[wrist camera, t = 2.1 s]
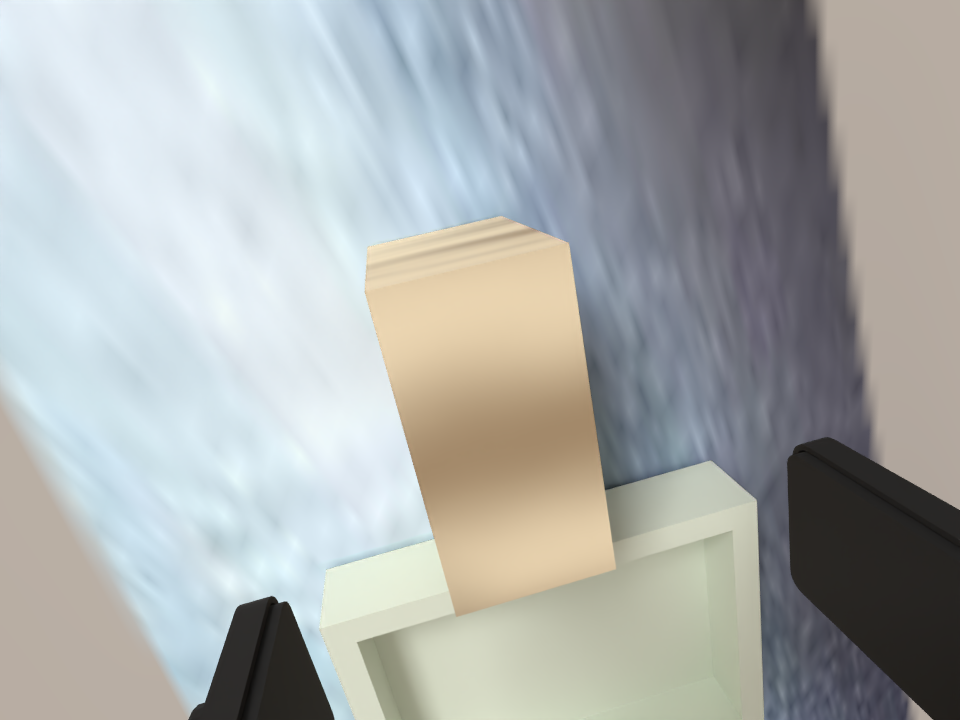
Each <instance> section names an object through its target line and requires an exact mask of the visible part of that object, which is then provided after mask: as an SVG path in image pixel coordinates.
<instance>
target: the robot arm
mask: <svg viewBox="0 0 960 720" xmlns="http://www.w3.org/2000/svg"><path fill="white" fill-rule="evenodd" d="M787 471H788V504H789V536H790V569H791V575H792V578H793V580H794V582H795V584H796V586H797V587H798V589H799V590H800V591H801V592H802V593H803V594H804V595H805V596H806V597H807V598H808V599H809V600H810V601H811V602H812V603H813V604H814V605H815V606H816V607H817V608H818V609H819V610H820V611H821V612H822V613H823V614H824V615H825V616H827V617H828V618H829V619H830V620H831V621H832V622H833V623H834V624H835V625H836V626H837V627H838V628H839V629H840V630H841V631H842V632H843V633H844V634H845V635H846V636H847V637H848V638H849V639H850V640H851V641H852V642H853V643H854V644H855V645H857V646H858V647H859V648H860V649H861V650H862V651H863V652H864V653H865V654H866V655H867V656H868V657H869V658H870V659H871V660H872V661H873V662H874V663H875V664H876V665H877V666H878V667H879V668H880V669H881V670H882V671H883V672H884V673H885V674H886V675H888V676H889V677H890V678H891V679H892V680H893V681H894V682H895V683H896V684H897V685H898V686H899V687H900V688H901V689H902V690H903V691H904V692H905V693H906V694H907V695H908V696H909V697H910V698H911V699H912V700H913V701H914V702H915V703H916V704H917V705H919V706H920V707H921V708H922V709H923V710H924V711H925V712H926V713H927V714H928V715H929V716H930V717H931V718H932V719H933V720H960V510H959V509H957V508H955V507H953V506H952V505H949V504H948V503H946V502H944V501H943V500H941V499H939V498H937V497H936V496H934V495H932V494H930V493H928V492H927V491H925V490H923V489H921V488H920V487H918V486H916V485H914V484H913V483H911V482H909V481H907V480H905V479H904V478H902V477H900V476H898V475H896V474H895V473H893V472H891V471H889V470H888V469H886V468H884V467H882V466H881V465H879V464H877V463H875V462H873V461H872V460H870V459H868V458H866V457H865V456H863V455H861V454H859V453H858V452H856V451H854V450H852V449H850V448H849V447H847V446H845V445H843V444H842V443H840V442H838V441H836V440H834V439H832V438H829V437H826V438H821V439H818V440H814V441H811V442H807V443H804V444H800V445H798V446H796V447H795V449H794V451H793V455H791V456H790V457H789V458H788V462H787ZM188 720H334V715H333V712H332V710H331V707H330V705H329V702H328V700H327V697H326V695H325V692H324V690H323V687H322V685H321V682H320V680H319V677H318V675H317V672H316V670H315V667H314V664H313V662H312V659H311V657H310V654H309V652H308V649H307V647H306V644H305V642H304V639H303V637H302V634H301V632H300V629H299V627H298V624H297V622H296V619H295V617H294V614H293V612H292V609H291V607H290V605H289V603H288V602H281V603H278V601H277V599H276V598H275V597H273V596H270V597H267V598H263V599H260V600H256V601H253V602H249V603H246V604H242V605H240V606H238V607H237V609H236V611H235V613H234V616H233V619H232V622H231V625H230V628H229V631H228V634H227V637H226V641H225V644H224V647H223V650H222V653H221V656H220V659H219V662H218V665H217V668H216V671H215V674H214V677H213V680H212V683H211V686H210V689H209V692H208V695H207V698H206V701H205V703H202V704H199V705H198V706H197V707H196V708H195V709H194V710H193V711H192V713H191V715H190V717H189V719H188Z"/></svg>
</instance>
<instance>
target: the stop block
mask: <svg viewBox="0 0 960 720" xmlns="http://www.w3.org/2000/svg"><path fill="white" fill-rule="evenodd" d="M365 295H366V298H367V302H368V305H369V309H370V312H371V316H372V319H373V323H374V326H375V330H376V334H377V337H378V341H379V344H380V348H381V351H382V355H383V358H384V362H385V366H386V369H387V373H388V376H389V380H390V383H391V387H392V390H393V394H394V398H395V401H396V405H397V408H398V412H399V415H400V419H401V422H402V426H403V430H404V433H405V437H406V440H407V444H408V447H409V451H410V454H411V458H412V462H413V465H414V469H415V472H416V476H417V479H418V483H419V486H420V490H421V493H422V497H423V501H424V504H425V508H426V511H427V515H428V518H429V522H430V525H431V529H432V533H433V536H434V540H435V543H436V547H437V550H438V554H439V557H440V561H441V565H442V568H443V572H444V575H445V579H446V582H447V586H448V589H449V593H450V597H451V600H452V604H453V607H454V611H455V614H456V617H458V616H462V615H465V614H468V613H472V612H475V611H478V610H482V609H485V608H488V607H492V606H495V605H498V604H502V603H505V602H508V601H512V600H515V599H518V598H522V597H525V596H528V595H532V594H535V593H539V592H542V591H545V590H549V589H552V588H555V587H559V586H562V585H565V584H569V583H572V582H575V581H579V580H582V579H585V578H589V577H592V576H595V575H599V574H602V573H605V572H609V571H612V570H615V569H616V564H615V557H614V550H613V543H612V536H611V529H610V522H609V516H608V509H607V502H606V495H605V488H604V481H603V474H602V467H601V461H600V454H599V447H598V440H597V433H596V426H595V419H594V412H593V406H592V399H591V392H590V385H589V378H588V371H587V364H586V357H585V351H584V344H583V337H582V330H581V323H580V316H579V309H578V302H577V295H576V289H575V282H574V275H573V268H572V261H571V254H570V247H569V243H568V242H565V241H563V240H560V239H558V238H555V237H553V236H550V235H548V234H545V233H543V232H540V231H538V230H535V229H533V228H530V227H528V226H525V225H523V224H520V223H517V222H515V221H512V220H510V219H507V218H505V217H502V216H499V217H495V218H490V219H486V220H482V221H477V222H473V223H469V224H464V225H460V226H456V227H451V228H447V229H443V230H438V231H434V232H430V233H425V234H421V235H417V236H412V237H408V238H404V239H399V240H395V241H391V242H386V243H382V244H378V245H373V246H369V247H368V249H367V264H366V279H365Z"/></svg>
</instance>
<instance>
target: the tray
mask: <svg viewBox="0 0 960 720" xmlns="http://www.w3.org/2000/svg"><path fill="white" fill-rule="evenodd" d="M605 495H606V502H607V509H608V516H609V522H610V529H611V536H612V543H613V550H614V557H615V564H616V569H615V570H612V571H609V572H605V573H602V574H599V575H595V576H592V577H589V578H585V579H582V580H579V581H575V582H572V583H569V584H565V585H562V586H559V587H555V588H552V589H549V590H545V591H542V592H539V593H535V594H532V595H528V596H525V597H522V598H518V599H515V600H512V601H508V602H505V603H502V604H498V605H495V606H492V607H488V608H485V609H482V610H478V611H475V612H472V613H468V614H465V615H462V616H458V617H456V614H455V611H454V607H453V604H452V600H451V597H450V593H449V589H448V586H447V582H446V579H445V575H444V572H443V568H442V565H441V561H440V557H439V554H438V550H437V547H436V543H435V540H434V539H432V540H429V541H425V542H422V543H418V544H415V545H411V546H408V547H404V548H400V549H397V550H393V551H390V552H386V553H383V554H379V555H376V556H372V557H369V558H365V559H362V560H358V561H355V562H351V563H348V564H344V565H341V566H337V567H334V568H330V569H326V575H325V584H324V592H323V601H322V610H321V618H320V627H319V630H320V632H321V635H322V637H323V640H324V642H325V645H326V647H327V650H328V652H329V655H330V657H331V660H332V662H333V665H334V667H335V670H336V672H337V675H338V677H339V680H340V682H341V685H342V687H343V690H344V692H345V695H346V697H347V700H348V703H349V705H350V708H351V710H352V713H353V715H354V718H355V720H764V704H763V674H762V643H761V613H760V583H759V552H758V522H757V500H756V499H755V498H753V497H752V496H751V495H750V494H749V493H748V492H747V491H746V490H744V489H743V488H742V487H741V486H740V485H739V484H738V483H736V482H735V481H734V480H733V479H732V478H731V477H730V476H728V475H727V474H726V473H725V472H724V471H723V470H722V469H720V468H719V467H718V466H717V465H716V464H715V463H714V462H712V461H707V462H703V463H700V464H696V465H693V466H689V467H686V468H682V469H679V470H675V471H672V472H668V473H665V474H661V475H658V476H654V477H651V478H647V479H644V480H640V481H637V482H633V483H629V484H626V485H622V486H619V487H615V488H612V489H608V490H605Z"/></svg>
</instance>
